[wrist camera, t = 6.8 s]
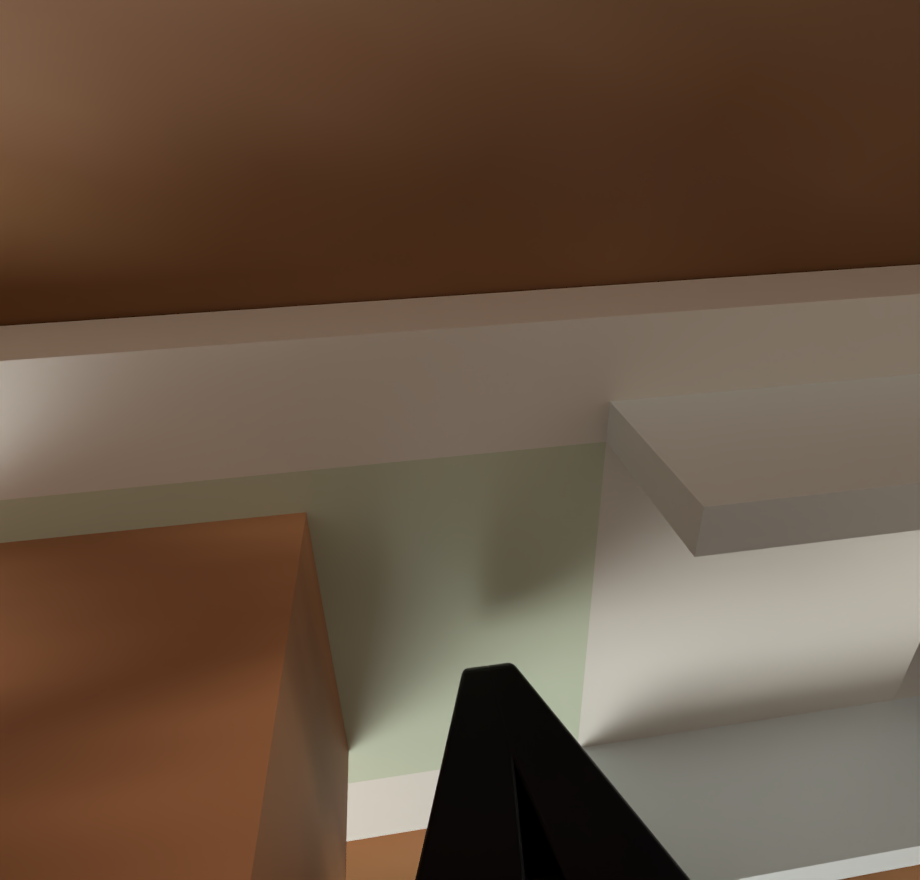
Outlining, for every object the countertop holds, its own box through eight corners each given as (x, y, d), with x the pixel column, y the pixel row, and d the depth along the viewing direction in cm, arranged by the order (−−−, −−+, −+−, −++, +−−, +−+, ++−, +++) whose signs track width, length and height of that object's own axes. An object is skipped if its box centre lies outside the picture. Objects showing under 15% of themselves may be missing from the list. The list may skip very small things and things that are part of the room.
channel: (1375, 233, 10) (1903, 289, 7) (1100, 654, 15) (1328, 817, 11) (-186, 338, 8) (-657, 520, 4) (75, 809, 12) (-40, 1083, 9)
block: (306, 511, 8) (236, 976, 4) (348, 751, 10) (337, 1210, 6) (-103, 553, 7) (-759, 1156, 3) (39, 796, 10) (-222, 1337, 5)
